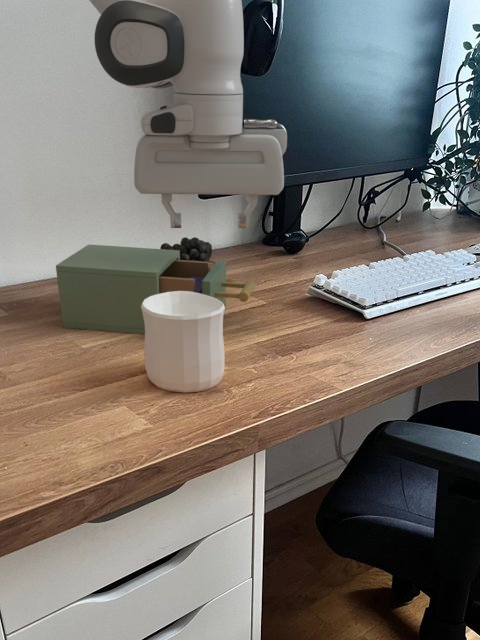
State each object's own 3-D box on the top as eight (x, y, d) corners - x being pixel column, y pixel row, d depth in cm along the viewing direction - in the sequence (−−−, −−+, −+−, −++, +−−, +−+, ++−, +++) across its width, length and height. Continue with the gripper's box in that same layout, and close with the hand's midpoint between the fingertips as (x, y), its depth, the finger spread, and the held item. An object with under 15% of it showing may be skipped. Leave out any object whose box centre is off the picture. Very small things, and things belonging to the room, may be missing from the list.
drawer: (256, 309, 107) (258, 262, 103) (244, 334, 97) (245, 284, 94) (142, 300, 109) (139, 254, 106) (119, 324, 100) (115, 274, 96)
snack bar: (199, 291, 98) (178, 289, 98) (199, 318, 100) (179, 316, 100) (209, 277, 104) (190, 276, 104) (210, 303, 106) (191, 302, 106)
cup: (157, 360, 91) (154, 287, 86) (232, 366, 90) (232, 293, 85) (135, 389, 83) (129, 311, 78) (216, 397, 81) (216, 318, 77)
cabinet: (181, 308, 110) (179, 250, 105) (159, 335, 99) (156, 272, 94) (93, 301, 111) (88, 244, 107) (62, 327, 101) (55, 265, 96)
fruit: (122, 236, 112) (215, 234, 113) (128, 241, 120) (214, 239, 121) (125, 290, 114) (216, 288, 115) (131, 292, 122) (216, 290, 123)
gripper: (284, 117, 93) (280, 222, 100) (132, 115, 91) (138, 222, 98) (291, 121, 88) (286, 232, 95) (129, 119, 86) (136, 232, 93)
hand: (209, 227), depth 97 cm, fingers open, 8 cm apart
